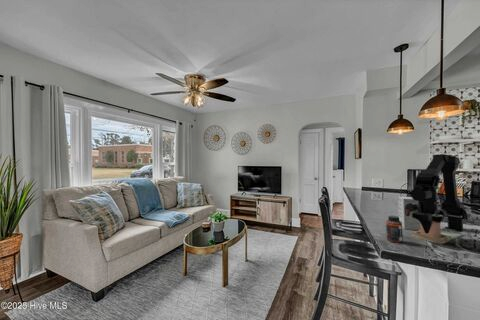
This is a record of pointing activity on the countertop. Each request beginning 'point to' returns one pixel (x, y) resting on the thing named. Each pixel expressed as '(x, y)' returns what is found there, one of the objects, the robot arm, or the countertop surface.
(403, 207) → the supplement box
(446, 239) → the wooden frame
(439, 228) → the part block
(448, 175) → the robot arm
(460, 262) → the countertop surface
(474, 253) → the countertop surface
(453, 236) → the pad
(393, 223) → the supplement bottle
